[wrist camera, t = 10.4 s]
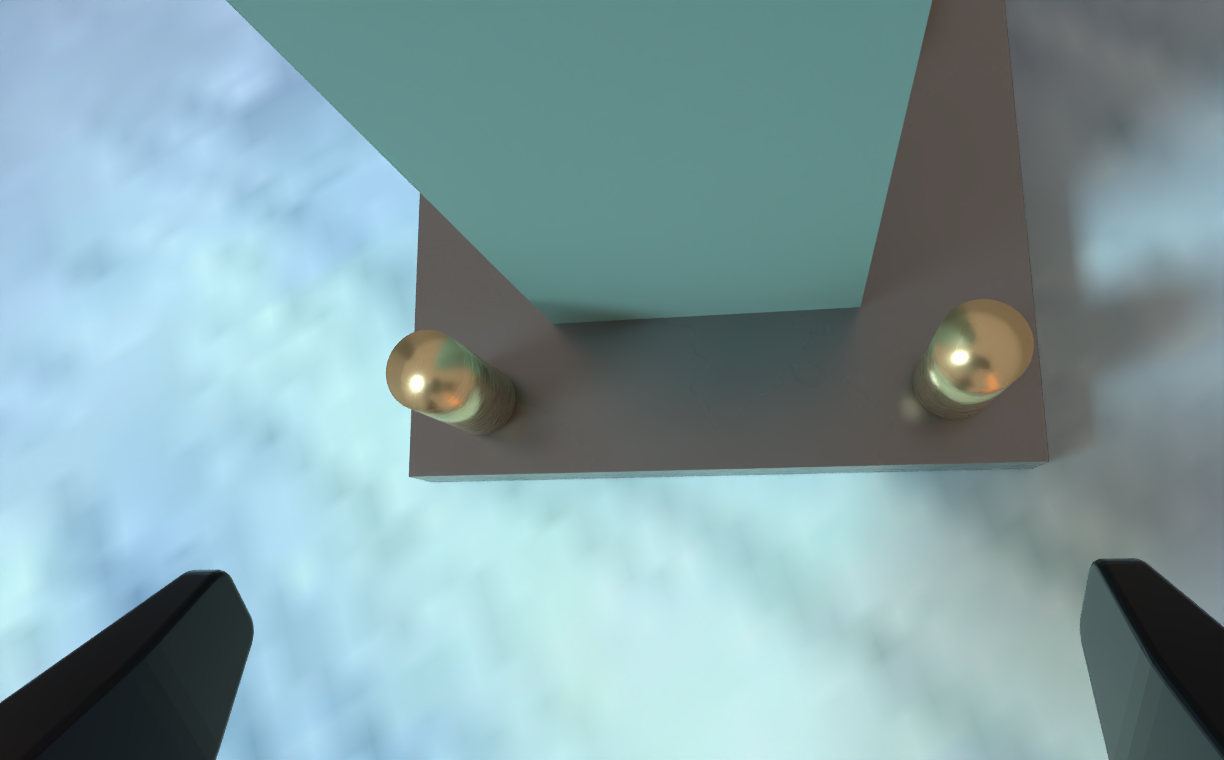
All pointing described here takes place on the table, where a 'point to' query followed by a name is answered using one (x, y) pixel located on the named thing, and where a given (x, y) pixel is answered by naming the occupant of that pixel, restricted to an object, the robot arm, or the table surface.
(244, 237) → the table surface
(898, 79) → the teal block
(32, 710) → the robot arm
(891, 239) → the plate
